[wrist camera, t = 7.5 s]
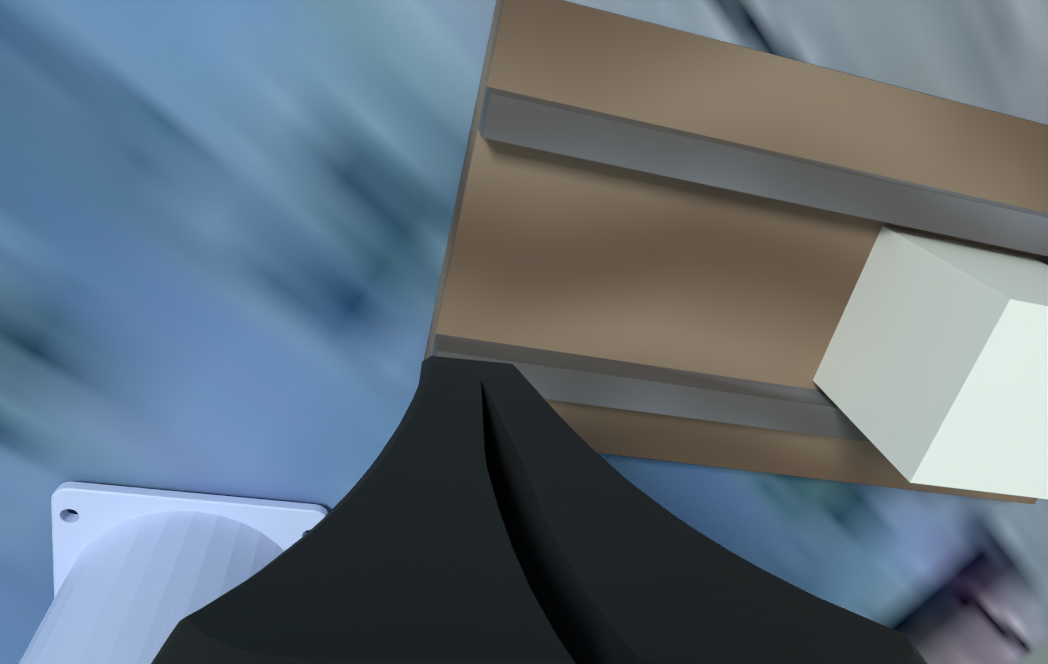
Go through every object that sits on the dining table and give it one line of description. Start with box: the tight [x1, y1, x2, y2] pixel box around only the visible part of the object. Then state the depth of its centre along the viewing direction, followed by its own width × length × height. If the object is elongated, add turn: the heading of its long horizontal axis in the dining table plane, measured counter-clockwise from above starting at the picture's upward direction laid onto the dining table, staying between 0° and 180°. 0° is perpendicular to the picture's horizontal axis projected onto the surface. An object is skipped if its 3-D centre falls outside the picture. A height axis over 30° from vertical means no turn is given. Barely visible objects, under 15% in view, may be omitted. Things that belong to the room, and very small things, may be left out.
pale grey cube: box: [813, 226, 1048, 499], centre depth 20 cm, size 5×5×5 cm
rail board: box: [424, 0, 1048, 504], centre depth 21 cm, size 12×22×4 cm, turn 76°
